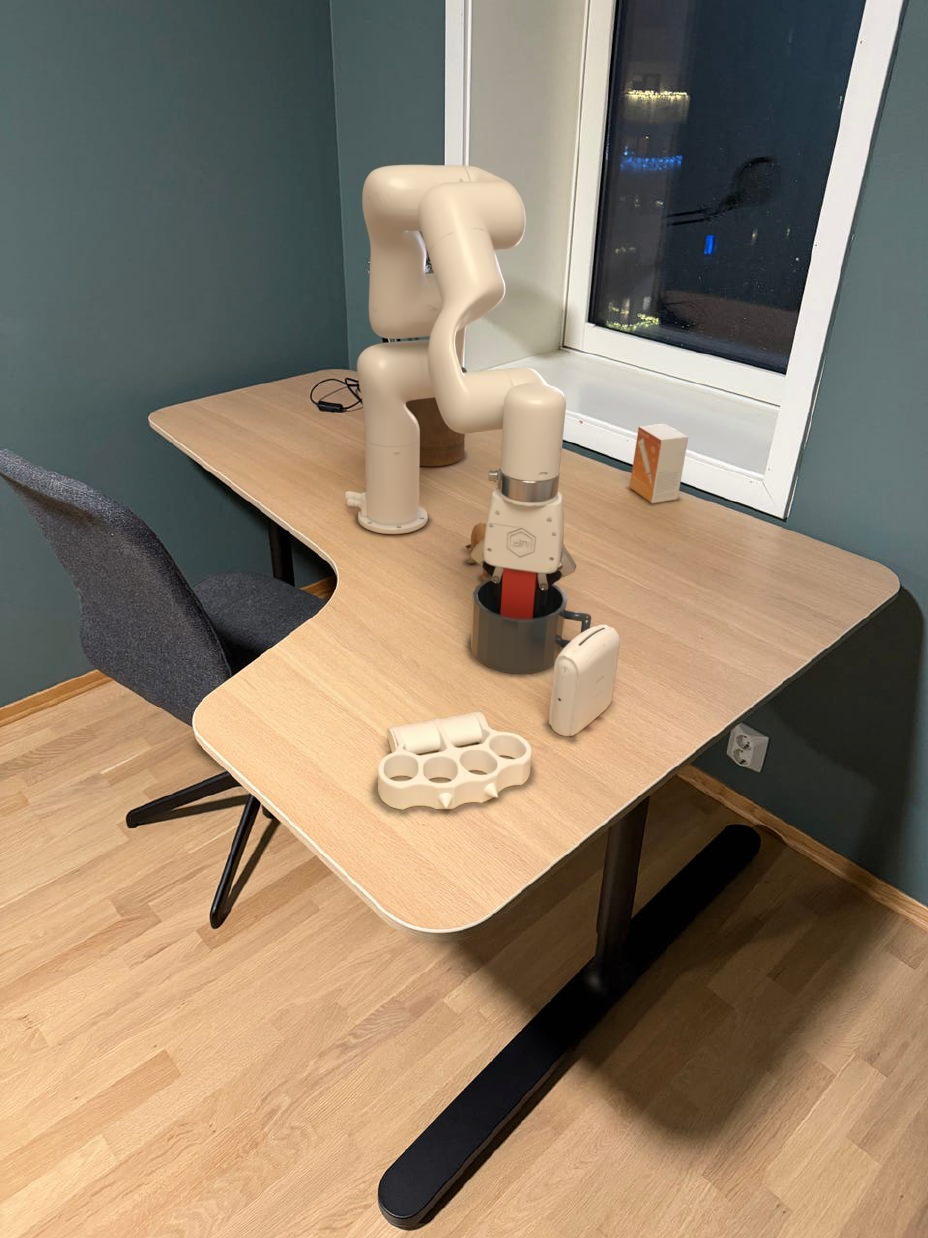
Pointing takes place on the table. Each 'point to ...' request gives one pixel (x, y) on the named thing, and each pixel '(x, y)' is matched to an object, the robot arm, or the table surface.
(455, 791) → the knuckle duster
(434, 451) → the wooden container
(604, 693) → the photo printer
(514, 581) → the red block
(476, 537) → the lion figurine
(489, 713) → the table surface
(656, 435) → the small box
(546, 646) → the dark gray mug
